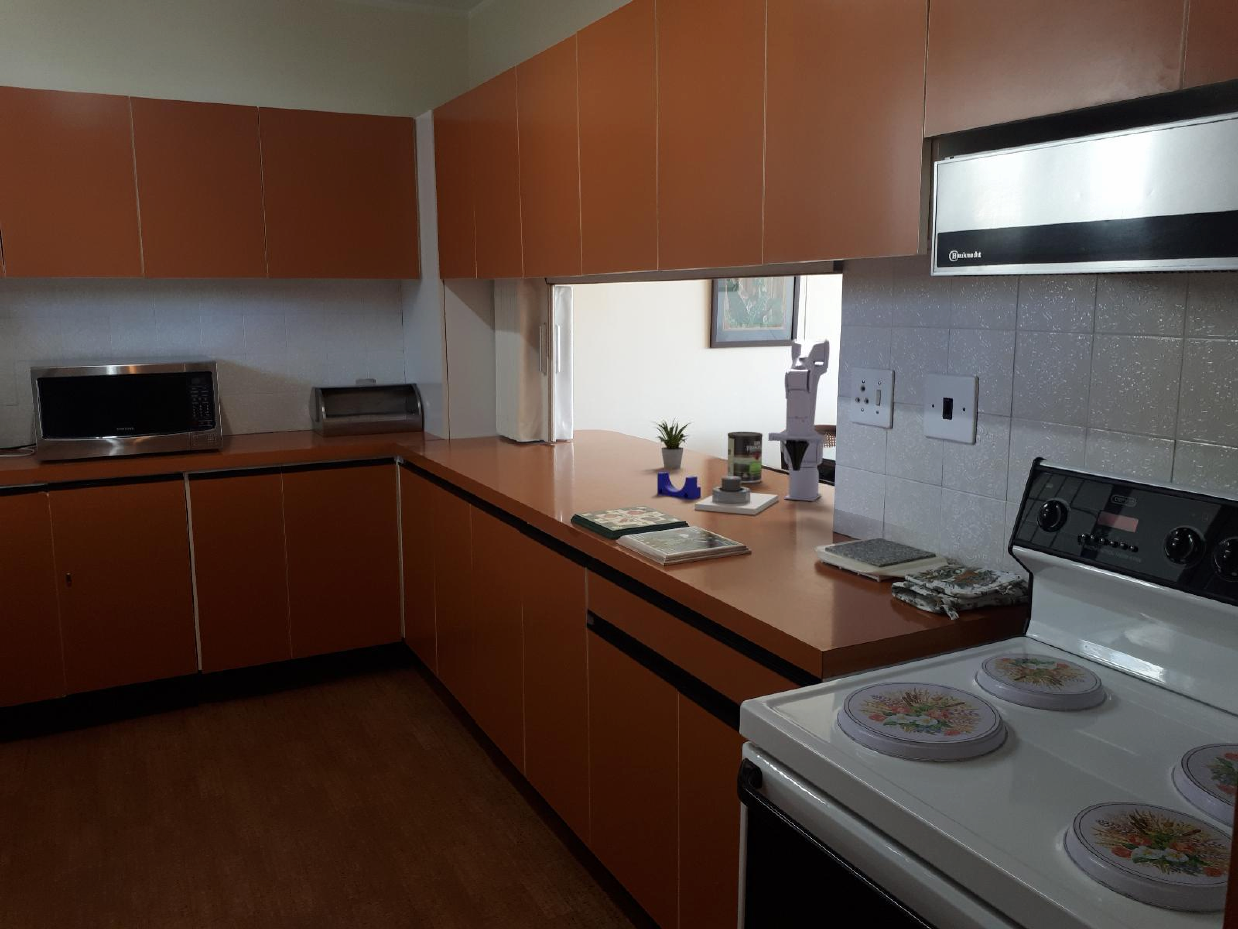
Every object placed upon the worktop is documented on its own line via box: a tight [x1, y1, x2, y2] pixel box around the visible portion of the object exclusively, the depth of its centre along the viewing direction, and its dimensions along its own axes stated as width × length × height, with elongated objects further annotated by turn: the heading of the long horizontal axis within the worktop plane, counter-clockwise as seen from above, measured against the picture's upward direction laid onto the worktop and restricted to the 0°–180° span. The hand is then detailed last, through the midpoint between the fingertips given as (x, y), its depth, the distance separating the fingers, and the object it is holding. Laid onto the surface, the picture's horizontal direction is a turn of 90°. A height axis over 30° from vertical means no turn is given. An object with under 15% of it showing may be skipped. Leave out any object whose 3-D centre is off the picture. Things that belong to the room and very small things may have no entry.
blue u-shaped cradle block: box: [656, 471, 702, 500], centre depth 272 cm, size 12×4×6 cm, turn 44°
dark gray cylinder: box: [721, 475, 742, 492], centre depth 257 cm, size 5×5×6 cm
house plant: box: [649, 417, 693, 469], centre depth 318 cm, size 14×14×16 cm
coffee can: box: [727, 431, 764, 484], centre depth 294 cm, size 10×10×14 cm
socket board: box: [694, 485, 779, 516], centre depth 259 cm, size 20×16×4 cm
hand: (796, 470), depth 253 cm, fingers closed
